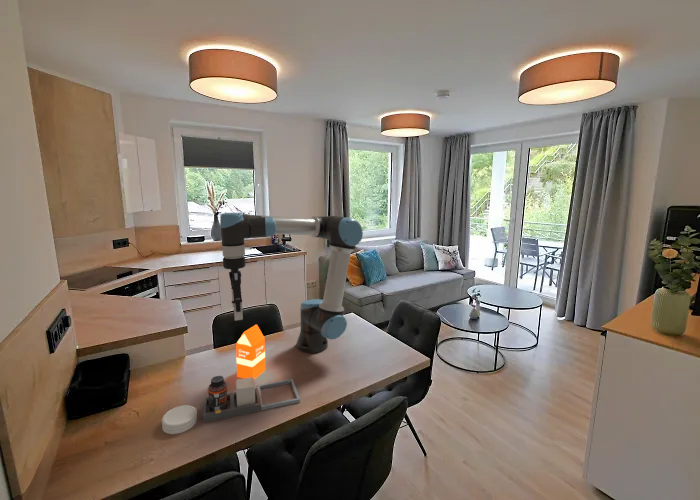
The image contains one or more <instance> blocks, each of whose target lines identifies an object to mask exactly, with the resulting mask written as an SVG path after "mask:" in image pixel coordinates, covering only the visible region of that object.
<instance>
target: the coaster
mask: <svg viewBox="0 0 700 500" xmlns="http://www.w3.org/2000/svg"><path fill="white" fill-rule="evenodd" d="M197 411H198V410H197V409H196V407H194V406H193V405H188V404H187V405H186V404H185V405H178V406H175V407H173V408H171V409H168V410H167V412H165V413H164V415H163V416H162V417H161V418H162V419H161V426H162V427H161V428H162V431H163V432H164V433H166V434H168V435H178V434H182V433H185V432H187V431H189V430H190V429H192V428H193V427H194V426H195V425H196V423H197V421H198V413H197Z"/></svg>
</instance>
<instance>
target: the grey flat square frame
mask: <svg viewBox="0 0 700 500" xmlns="http://www.w3.org/2000/svg"><path fill="white" fill-rule="evenodd" d="M287 384H291V387H292V390H293V394H294V396H295V398H292V399H287V400H283V401H277V402H271V403H267V404H264V402H263V397H262V392H261V389H266V388H272V387H276V386H277V387H278V386H282V385H287ZM256 388H258V394H259V400H260V411H265V410H269V409H273V408H277V407H283V406H284V407H285V406H288V405H293V404H297V403H300V401H301V400H300V395H299V392H298V390H297V388H296V385H295V382H294V380H293V378H290V379H285V380H277V381H273V382H267V383H262V384H257V385H256Z"/></svg>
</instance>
